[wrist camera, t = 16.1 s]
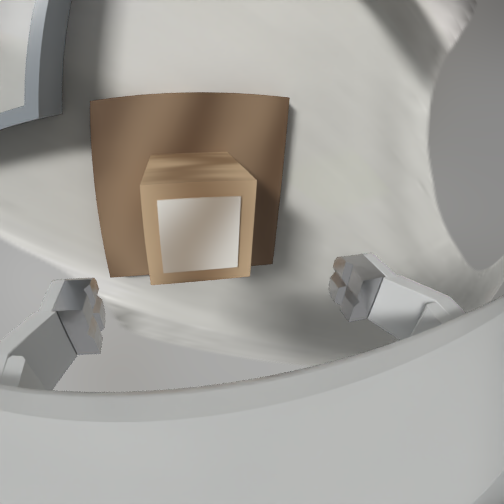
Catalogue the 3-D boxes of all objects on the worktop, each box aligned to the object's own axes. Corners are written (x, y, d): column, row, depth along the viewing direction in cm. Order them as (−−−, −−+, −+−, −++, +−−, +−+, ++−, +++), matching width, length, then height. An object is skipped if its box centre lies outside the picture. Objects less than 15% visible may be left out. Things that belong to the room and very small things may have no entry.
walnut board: (283, 97, 18) (289, 97, 17) (268, 256, 25) (272, 264, 24) (94, 101, 15) (90, 101, 14) (112, 269, 21) (110, 277, 20)
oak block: (227, 152, 18) (257, 181, 12) (224, 221, 21) (250, 277, 15) (150, 154, 17) (139, 186, 11) (154, 225, 19) (151, 286, 13)
